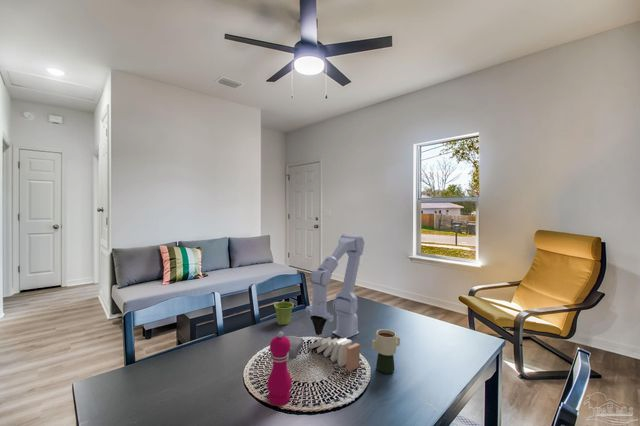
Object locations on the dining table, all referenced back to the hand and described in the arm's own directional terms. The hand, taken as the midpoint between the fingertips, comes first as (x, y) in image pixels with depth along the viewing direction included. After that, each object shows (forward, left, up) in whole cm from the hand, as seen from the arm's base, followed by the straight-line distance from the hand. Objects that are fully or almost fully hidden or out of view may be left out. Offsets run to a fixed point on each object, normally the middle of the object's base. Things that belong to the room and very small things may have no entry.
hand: (318, 334), depth 118 cm
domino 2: (0, +2, -5) cm, 6 cm away
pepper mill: (+29, +15, -6) cm, 33 cm away
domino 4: (0, +10, -6) cm, 11 cm away
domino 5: (0, +14, -6) cm, 15 cm away
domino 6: (0, +18, -6) cm, 19 cm away
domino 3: (0, +6, -5) cm, 8 cm away
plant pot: (-4, -30, -6) cm, 31 cm away
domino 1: (0, -2, -5) cm, 6 cm away
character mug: (-8, +26, -6) cm, 28 cm away
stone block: (+10, -7, -6) cm, 14 cm away
